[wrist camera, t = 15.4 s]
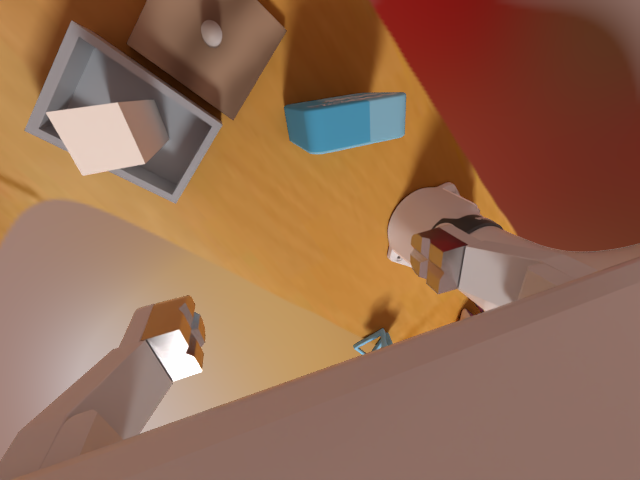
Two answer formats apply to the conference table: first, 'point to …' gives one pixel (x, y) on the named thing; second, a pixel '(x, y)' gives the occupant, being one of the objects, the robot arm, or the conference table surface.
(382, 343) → the light blue frame stand
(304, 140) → the data package
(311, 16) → the conference table surface
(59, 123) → the strut
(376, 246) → the conference table surface
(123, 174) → the bin
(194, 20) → the stud plate
